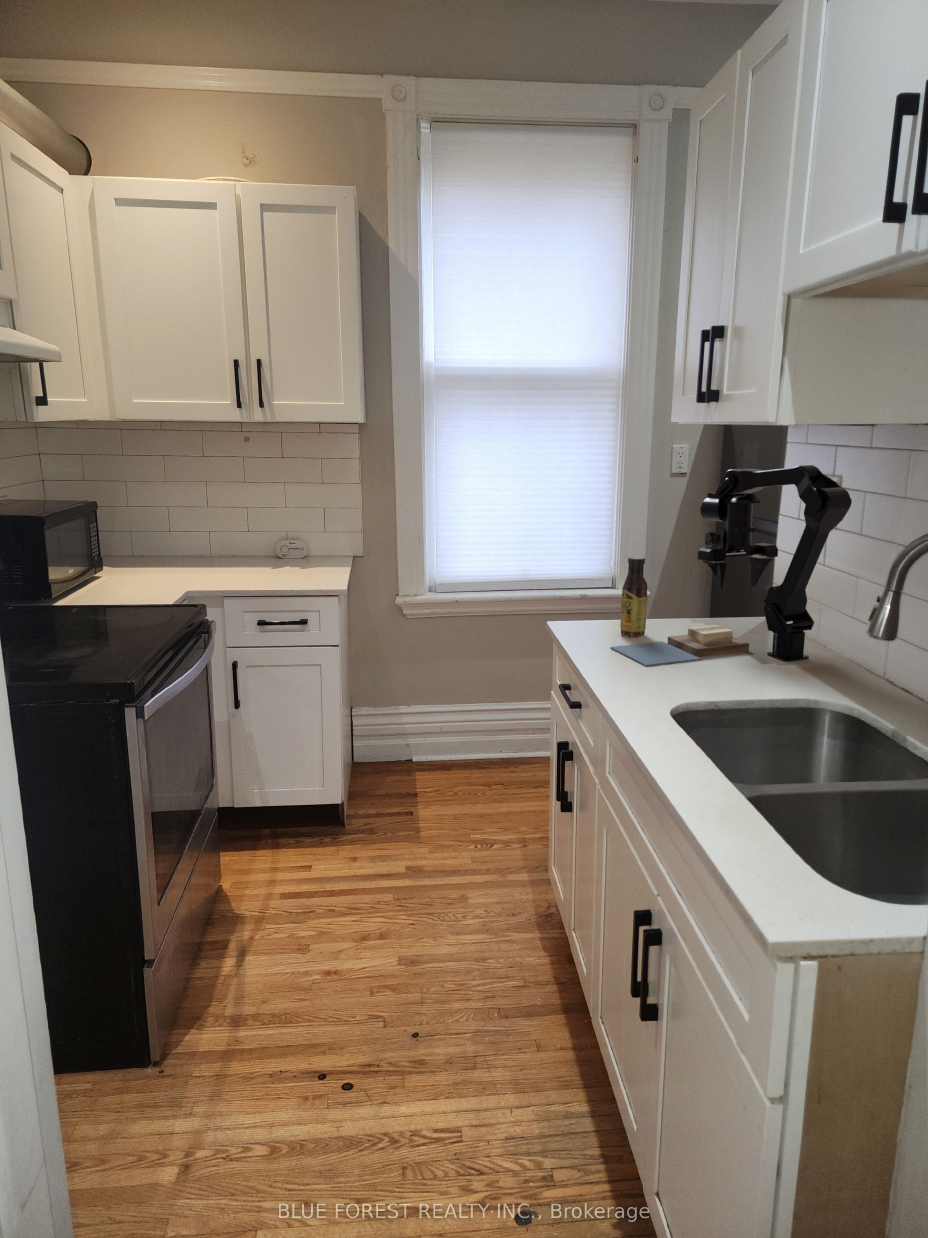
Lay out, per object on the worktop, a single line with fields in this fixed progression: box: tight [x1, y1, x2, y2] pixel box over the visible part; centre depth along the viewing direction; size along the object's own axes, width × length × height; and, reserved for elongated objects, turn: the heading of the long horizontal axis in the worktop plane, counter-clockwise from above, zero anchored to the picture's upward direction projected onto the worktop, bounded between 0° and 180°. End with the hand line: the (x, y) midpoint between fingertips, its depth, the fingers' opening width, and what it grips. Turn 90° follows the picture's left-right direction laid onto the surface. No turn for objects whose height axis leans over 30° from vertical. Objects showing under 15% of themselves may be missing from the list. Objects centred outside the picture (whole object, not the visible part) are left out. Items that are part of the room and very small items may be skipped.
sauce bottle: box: [619, 555, 648, 638], centre depth 201 cm, size 6×6×20 cm
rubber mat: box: [610, 641, 702, 667], centre depth 186 cm, size 16×14×1 cm
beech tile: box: [687, 624, 734, 644], centre depth 190 cm, size 6×8×2 cm
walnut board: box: [667, 634, 750, 658], centre depth 190 cm, size 12×14×2 cm
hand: (736, 588), depth 194 cm, fingers open, 9 cm apart
